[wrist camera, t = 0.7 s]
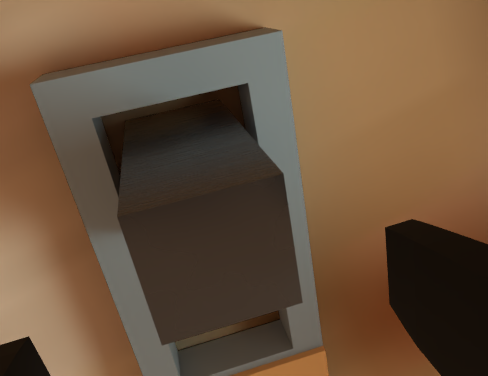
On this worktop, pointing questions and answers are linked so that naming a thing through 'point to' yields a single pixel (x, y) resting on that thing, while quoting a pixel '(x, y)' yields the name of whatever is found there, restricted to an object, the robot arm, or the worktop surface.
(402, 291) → the robot arm
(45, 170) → the worktop surface
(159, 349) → the grey rectangular frame
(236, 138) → the block
